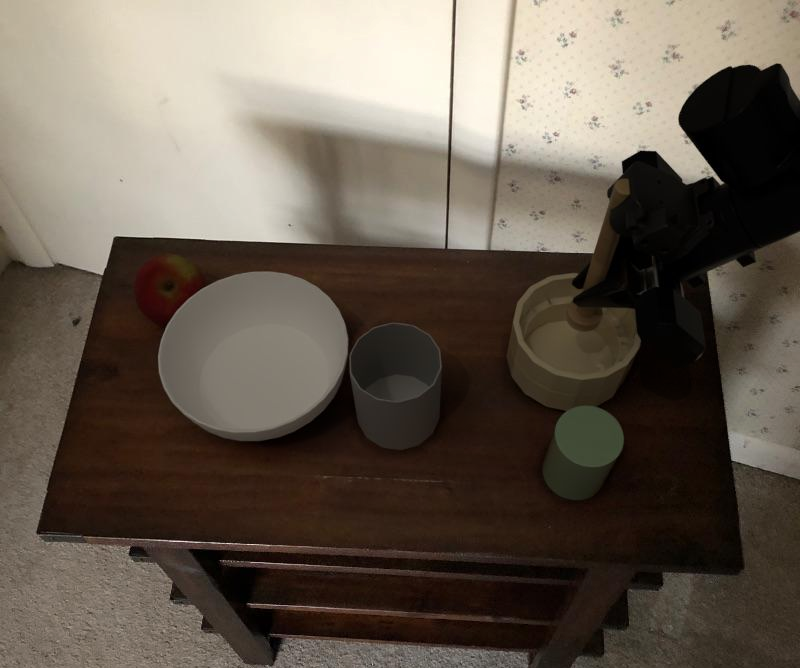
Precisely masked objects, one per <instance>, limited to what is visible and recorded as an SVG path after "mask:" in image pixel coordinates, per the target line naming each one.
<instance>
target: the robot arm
mask: <svg viewBox="0 0 800 668" xmlns="http://www.w3.org/2000/svg"><path fill="white" fill-rule="evenodd" d="M677 117H678V118H677V120H678V126H679V127H680V129H681V130H682V131H683V132H684V134H685V135H686V136H687V137H688V139H689V140H690V142H691V143H692V144H693V146H694V147H695V149H696V150H697V151H698V152H699V154H700V155H701V156H702V157H703V159H704V160H705V161H706V163H707V164H708V165H709V167H710V168H711V169H712V171H713V172H714V174H716V176H717V177H718V179H719V180H720V181H721V182H722V183H721V184H720V183H719V181H718V180H717V179H716V178H715V177H714V176H712V175H711V176H709V177H708V178H707V177H703V178H700V179H698V180H696V181H695V182H691V183H690V182H689V183H687V184H686V183H685V182H683V178H682V177H681V176H680V175H679V174H678V173H677V171H675V169H674V168H673V167H672V166H671V165H670V164H669V163H668V162H667V161H666V160H665V159H664V158H663V157H662V156H661V154H660V153H658V152H657V150H639V151H637V152H636V153H633V154H632V155H630V156H629V157H627V158H625V159H623V160H622V161H621V170H622V174H621V175H620V176H619V177H618V178H617V179H616V181H618V180H620V179H628V180H629V190H630V194H629V196H628V197H627V198H626V199H625V200H624V201H623V202H622V203H620V204H619V205H618V206H616V207H615V208H613V209H610V216H609V223H610V226H611V228H612V229H613V230H614V232H616V233H617V234H618V235H620V238H619V241H618V244H617V247H616V250H615V253H614V256H613V259H612V262H611V264H610V267H609V270H608V273H607V276H606V279H605V281H603V282H601V283H599V284H597V285H595V286H593V287H591V288H589V289H587V290H585V291H583V292H582V293H580V294H578V295H577V296H575V297H574V298H573V303H574V304H575V305H577V306H578V307H600V308H629V309H635V316H636V328H637V333H638V335H639V338H640V340H641V343H642V344H644V345H645V346H646V347H648V348H649V349H650V350H651V351H652V352H655V354H657V355H658V356H660V357H661V358H662V359H663V360H664V361H666V362H667V363H669V364H670V365H671V366H672V367H673V368H675V369H678V368H681V367H683V366H686V365H689V364H692V363H695V362H697V361H698V360H699V359H700V358H702V356H703V354H704V353H705V351H706V349H707V347H706V340H705V333H704V324H703V317H702V312H701V311H700V310H698V308H696V306H694V305H693V304H692V303H690V302H689V300H687V299H686V298H685V291H684V287H683V286H684V285H683V284H682V283H684V282H686V283H688V285H690V287H692V288H693V289H696V288H698V287H700V286H703V285H705V284H706V276H705V274H706V273H708V272H710V271H712V270H715V269H717V268H719V267H722V266H724V265H727V264H728V263H731V262H734V261H736V262H737V263H738V264H739V265H740V266H741V267H742V268H745V267H748V266H750V265H752V264H755V263H757V261H756V254H755V252H757V251H760V250H761V249H763V248H765V247H768V246H770V245H773V244H775V243H778V242H780V241H783V240H784V239H786V238H789V237H791V236H793V235H796V234H798V233H800V98H799V97H798V95H797V94H796V92H795V91H794V89H793V86H792V84H791V80H790V76H789V75H788V73H787V71H786V69H785V68H784V66H783V65H782V63H777V62H776V63H774V64H772V65H770V66H768V67H766V68H763V69H760V68H759V67H758V66H757V65H753V64H741V65H737V66H734V67H733V66H732V65H729V66H727V67H724V68H722V69H720V70H719V71H716V72H715V73H714V74H712V75H710V76H709V77H708V78H707V79H705V80H704V81H702V82H701V83H700V84H699V85H698V86H697V87H695V89H694V90H693V91H692V92H691V93H690V94H689V96H688V97H687V99H686V100H685V101H684V103H683V104H682V106H681V108H680V111H679V113H678V116H677ZM616 181H614V183H613V184H611V186H609V187H608V189H607V190H606V198H607V199H608V202H609V201H610V198H611V195H612V191H613V188H614V185H615V183H616ZM590 263H591V261H590V262H589V263H588V264H587V265H586V266H585V267H584V268H582V269H581V271H580V272H578V273H577V274H578V275H577V276H576V277H575V278H574V279H573V280H572V286H574V287H575V288H576V289H583V286H584V283H585V280H586V276H587V273H588V270H589V267H590Z"/></svg>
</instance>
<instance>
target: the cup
mask: <svg viewBox="0 0 800 668" xmlns="http://www.w3.org/2000/svg"><path fill="white" fill-rule="evenodd" d="M441 355H442V354H441V349H440V347H439V346H438V344H437V343H436V341H435V340H434V338H433V337H432V336H431V334H430V333H428V332H426V331H424V330H422V329H421V328H419V327H417V326H415V325H414V324H407V323H400V322H394V321H393V322H389V323H384V324H381V325H376V326H373V327H372V328H371V329H369V330H368V331H366V332H365V333H364V334H362V335H361V336H360V337H358V338H357V339H356V341H355V343H354V346H353V347H352V349H351V352H350V353H349V354H348V356H349V357H348V358H349V375H350V383H351V389H352V395H353V401H354V407H355V413H356V420H357V424H358V426H359V427H360V429H361V431H362V433H363V434H364V436H365V438H366V439H367V440H369V441H371V442H373V444H375V445H377V446H379V447H380V448H383V449H390V450H396V451H403V450H407V449H410V448H414V447H418V446H420V445H422V443H424V442H425V441H426V440H428V438H429V437H431V436H432V435H433V434H434V432H435V429H436V427H437V425H438V423H439V420H440V417H441V416H440V414H441V391H442V373H443V366H442V356H441Z"/></svg>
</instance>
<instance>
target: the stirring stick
mask: <svg viewBox="0 0 800 668" xmlns="http://www.w3.org/2000/svg"><path fill="white" fill-rule="evenodd" d="M617 180H618V179H617ZM617 180H615V182H616V183H615V182H614V183H615V185H614V188H613V191H612V195H611V198H610V201H609V200H608V205H607V208H606V211H605V215H604V218H603V221H602V223H601V224H602V225H601V228H600V231H599V234H598V237H597V241H596V244H595V248H594V251H593V253H592V257H591V260H590V262H591V263H590V262H589V263H590V267H589V270H588V273H587V276H586V280H585V283H584V286H583V290H582V292H583V291H585V290H587V289H589V288H591V287H593V286H595V285H597V284H599V283H601V282H603V281H605V279H606V276H607V273H608V270H609V267H610V264H611V262H612V259H613V256H614V253H615V250H616V247H617V244H618V241H619V238H620V235H618V234H617V233H616V232H614V230H613V229H612V228H611V226H610V223H609V216H610V209H613V208H615V207H616V206H618V205H619V204H620V203H622V202H623V201H624V200H625V199H626V198H627V197H628V196H629V194H630V190H629V180H628V179H620V180H618V181H617ZM602 315H603V310H602V308H600V307H578V306H577V305H575V304H574V303H573V300H572V301H571V302H570V304H569V305H568V309H567V312H566V320H567V322H568V324H569V325H570V326H571V327H572V328H573V329H575V330H577V331H581V332H588V331H592V330H594V329H595V328H597V327H598V325H599V324H600V321H601V318H602Z"/></svg>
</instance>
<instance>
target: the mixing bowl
mask: <svg viewBox="0 0 800 668" xmlns="http://www.w3.org/2000/svg"><path fill="white" fill-rule="evenodd" d="M578 274H579V273H577V272H570V273H562V274H555V275H549V276H548V277H545V278H544V279H542V280H539V281H538V282H535V283H534V284H532V285H530V286H529V287H528V288H527V290H526V291H525V293H523V295H522V296H521V297H520V298H519V300H518V301H517V303H516V308H515V311H514V315H513V319H512V324H511V325H512V326H511V331H510V336H509V341H508V345H507V352H506V359H507V365H508V368H509V372H510V377H511V378H512V379H513V380H514V382H515V383H516V384H517V386H518V387H519V389H521V391H522V392H523V394H524V395H525V396H528V397H529V398H531V399H533V400H534V401H535V402H537V403H539V404H541V405H543V406H544V407H545V408H550V409H555V410H561V411H565V412H566V411H568V410H570V409H572V408H574V407H578V406H594V407H599V406H600V405H602V404H603V403H605V402H607V401H608V400H611V399H612V398H614V396H615V395H616V393H617V392H618V390H619V389H620V388H621V386H622V385H623V383H624V382H625V380H626V378H627V376H628V374H629V371H630V370H631V367H632V365H633V363H634V361H635V359H636V357H637V354H638V352H639V350H640V348H641V343H642V342H641V340H640V338H639V335H638V333H637V328H636V316H635V309H629V308H602V310H603V315H602V318H601V321H600V324H599V325H598V327H597V328H595V329H594V330H592V331H588V332H581V331H577V330H575V329H573V328H572V327H571V326H570V325H569V324H568V322H567V320H566V312H567V309H568V305H569V304H570V302H571V301H572V300H573V298H574V297H575V296H577V295H578V294H580V293H582V290H583V289H576V288H575V287H574V286H572V280H573V279H574V278H575V277H576V276H577V275H578Z"/></svg>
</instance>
